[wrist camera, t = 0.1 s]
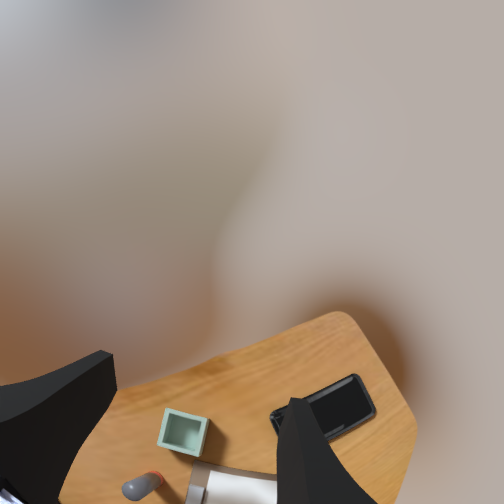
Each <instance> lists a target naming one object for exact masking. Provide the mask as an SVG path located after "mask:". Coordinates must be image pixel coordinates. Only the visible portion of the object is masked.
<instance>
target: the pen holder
mask: <svg viewBox="0 0 504 504" xmlns="http://www.w3.org/2000/svg"><path fill="white" fill-rule="evenodd" d="M209 421H210V419H208V418H204V417H200V416H196V415H192V414H188V413H184V412H181V411H177V410H173V409H170V408H166V409H165V413H164V417H163V422H162V426H161V430H160V434H159V438H158V442H157V445H159V446H162V447H165V448H168V449H172V450H175V451H178V452H182V453H186V454H189V455H193V456H197V457H199V456H200V455H201V454H202V452H203V447H204V443H205V438H206V434H207V430H208V425H209Z"/></svg>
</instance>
